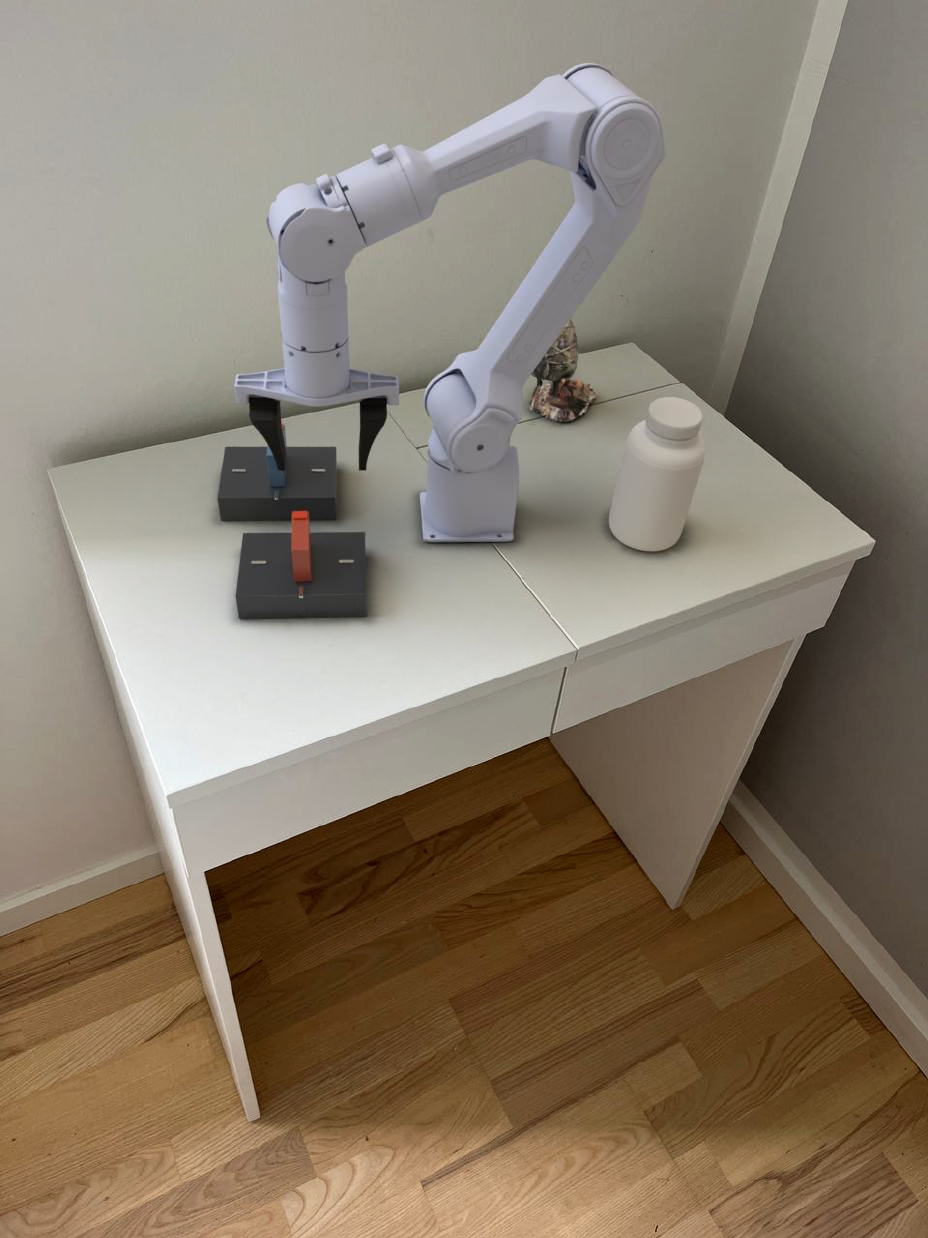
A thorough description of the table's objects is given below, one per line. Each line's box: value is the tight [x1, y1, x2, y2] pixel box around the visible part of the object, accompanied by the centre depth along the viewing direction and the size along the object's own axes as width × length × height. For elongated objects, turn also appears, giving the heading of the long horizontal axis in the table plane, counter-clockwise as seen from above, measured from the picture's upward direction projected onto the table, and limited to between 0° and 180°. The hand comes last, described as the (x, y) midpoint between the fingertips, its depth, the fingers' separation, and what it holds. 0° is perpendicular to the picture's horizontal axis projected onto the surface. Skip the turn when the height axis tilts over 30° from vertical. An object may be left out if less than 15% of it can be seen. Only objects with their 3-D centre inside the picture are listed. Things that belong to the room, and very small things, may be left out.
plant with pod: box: [528, 319, 597, 423], centre depth 111 cm, size 8×11×20 cm
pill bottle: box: [608, 396, 707, 552], centre depth 97 cm, size 8×8×15 cm
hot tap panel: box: [235, 531, 368, 620], centre depth 92 cm, size 12×10×3 cm
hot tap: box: [291, 511, 311, 582], centre depth 89 cm, size 6×2×4 cm, turn 7°
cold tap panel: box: [217, 446, 338, 521], centre depth 102 cm, size 12×10×3 cm
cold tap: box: [266, 423, 288, 487], centre depth 99 cm, size 6×2×4 cm, turn 5°
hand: (322, 464), depth 91 cm, fingers open, 7 cm apart
